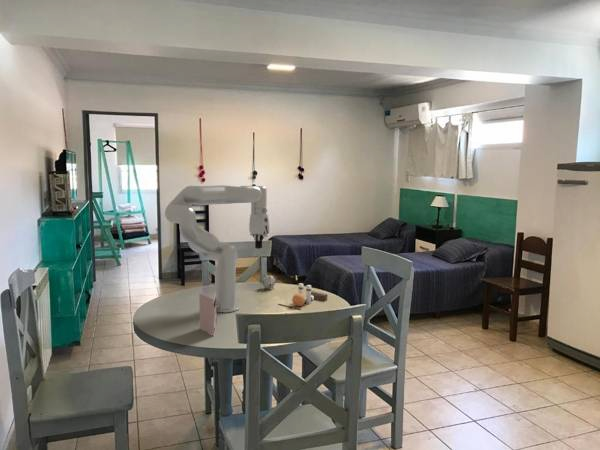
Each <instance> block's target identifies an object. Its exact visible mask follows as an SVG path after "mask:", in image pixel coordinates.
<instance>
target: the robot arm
mask: <svg viewBox="0 0 600 450" xmlns="http://www.w3.org/2000/svg"><path fill="white" fill-rule="evenodd" d="M267 189H268V188H267V187H266V186H263V185H240V186H233V185H188V186H185V187H184V188H183V189H182V190H181V191H179V193H178V194H177V195H176V196H175V197H174V198H173V199H172V200H171V201H170V202H169V203H168V205H167V206H166V208H165V210H164V216H165V219H166V220H167V221H169V222H170V223H173V224H179V227H178V228H179V232H180V233H179V234H180V235H181V238H182V239H183V240H184V241H186V242H187V244H188V246H189V248H190V249H191V250H192V251H194V252H195V253H197V254H199V255H201V256H203V257H204V258H206V259H208V260H211V261H214V262H217V264H216V267H215V270H214V271H215V272H214V295H215V294H216V296H217V297H216V309H217V313H222V312H223V313H226V314H227V313H233V312H237V311H239V309H240V306H239V304H237V303H236V302H237V301H236V299H237V298H236V290H237V289H236V285H237V284H236V283H237V281H236V280H237V279H236V278H237V277H236V274H237V273H236V267H237V260H238V256H239V255H238V250H237V248H236V246H235V245H233V244H231V243H229V242H224V241H220V240H219V239H218V237H217V236H216V235H215V234H213V233H211V232H209V231H208V230H205V229H204V228H202V227H201V226H199V225H198V224H197V223H198V222H197V216H196V212H195V210H194V208H193V207H192V206H193V205H196V206H209V205H230V204H247V203H249V204H250V210H251V211H250V215H249V224H248V228H249V229H248V231H249V233H250V235H249V236H252V237H253V241H254V245H255V246H254V248H255V249H257V250H259V249H262V248H263V240H264V239H265V238H267V237H268V234H270V220H269V214H267V212H268V209H267V203H268V202H267V200H268V198H267V194H268V193H267ZM223 313H222V314H223Z"/></svg>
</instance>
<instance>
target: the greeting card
mask: <svg viewBox="0 0 600 450" xmlns="http://www.w3.org/2000/svg"><path fill="white" fill-rule="evenodd" d="M216 297H217V296H216V294H215V293H214V297H213V298H211V297H209V296H206V295H204V294H203V293H199V297H198V298H199V330H201V329H202V330H201V331H203V330H204V331H206V332H208V333H210V334H212V335H214V336H215V334H214V333H216V330H217V322H218V321H217V320H218V312H217V309H216ZM215 329H216V330H215ZM204 331H203V332H204ZM206 332H205V333H206ZM208 333H207V334H208ZM210 334H209V335H210ZM212 335H211V336H212Z"/></svg>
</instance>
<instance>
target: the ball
mask: <svg viewBox="0 0 600 450" xmlns="http://www.w3.org/2000/svg"><path fill="white" fill-rule="evenodd" d="M292 296H293V297H292V298H291V299H292V300H291V301H292V304H293V305H294V306H296V307H301V306H303V305H304V304H305V303H304V301H305V299H304V298H305V297H304V294H303V295H301V294H298V293H296V294H294V295H292Z"/></svg>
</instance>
